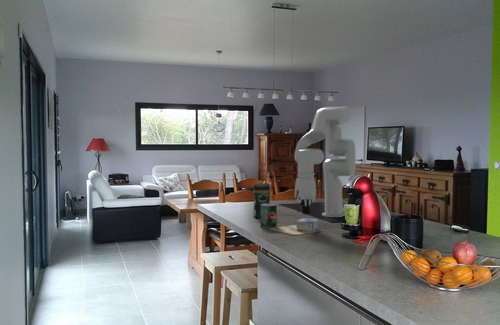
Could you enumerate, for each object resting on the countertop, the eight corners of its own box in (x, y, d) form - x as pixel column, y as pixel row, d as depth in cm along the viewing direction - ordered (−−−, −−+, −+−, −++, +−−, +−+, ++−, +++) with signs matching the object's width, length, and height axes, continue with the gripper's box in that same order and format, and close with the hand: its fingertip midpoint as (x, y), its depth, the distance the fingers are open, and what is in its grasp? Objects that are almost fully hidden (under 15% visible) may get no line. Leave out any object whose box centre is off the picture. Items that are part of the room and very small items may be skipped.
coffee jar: (269, 215, 256) (269, 182, 255) (271, 217, 248) (271, 183, 247) (252, 215, 255) (251, 182, 254) (254, 218, 247) (254, 184, 246)
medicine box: (302, 226, 219) (296, 230, 211) (302, 217, 219) (296, 220, 211) (318, 228, 215) (312, 231, 208) (318, 219, 215) (312, 222, 207)
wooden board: (295, 225, 225) (295, 224, 225) (320, 231, 210) (320, 230, 210) (269, 229, 216) (269, 228, 216) (293, 235, 201) (293, 234, 201)
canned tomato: (275, 228, 218) (275, 205, 218) (259, 227, 220) (259, 205, 219) (277, 225, 226) (277, 203, 226) (262, 224, 228) (262, 203, 227)
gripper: (312, 174, 223) (312, 211, 224) (288, 175, 215) (288, 214, 216) (322, 175, 217) (322, 213, 218) (298, 176, 208) (299, 216, 209)
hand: (305, 213), depth 217 cm, fingers closed
